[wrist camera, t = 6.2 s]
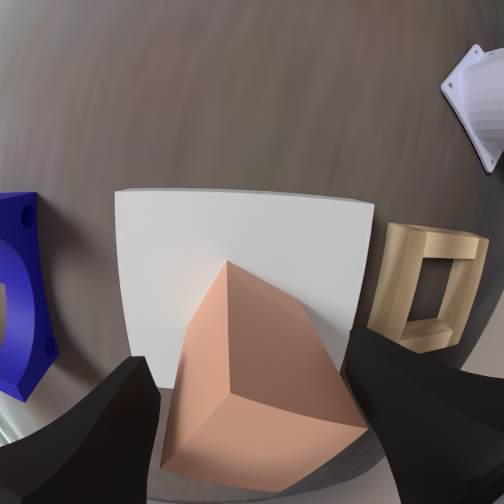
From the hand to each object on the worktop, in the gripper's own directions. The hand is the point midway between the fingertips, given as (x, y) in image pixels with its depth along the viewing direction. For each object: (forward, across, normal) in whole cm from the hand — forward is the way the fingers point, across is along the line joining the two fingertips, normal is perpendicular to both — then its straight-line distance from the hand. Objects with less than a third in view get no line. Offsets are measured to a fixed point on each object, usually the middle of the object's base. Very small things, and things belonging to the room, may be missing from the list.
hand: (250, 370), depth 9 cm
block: (+4, 0, 0) cm, 4 cm away
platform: (+7, 0, 0) cm, 7 cm away
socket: (+7, -13, +2) cm, 15 cm away
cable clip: (+7, +16, -2) cm, 17 cm away
